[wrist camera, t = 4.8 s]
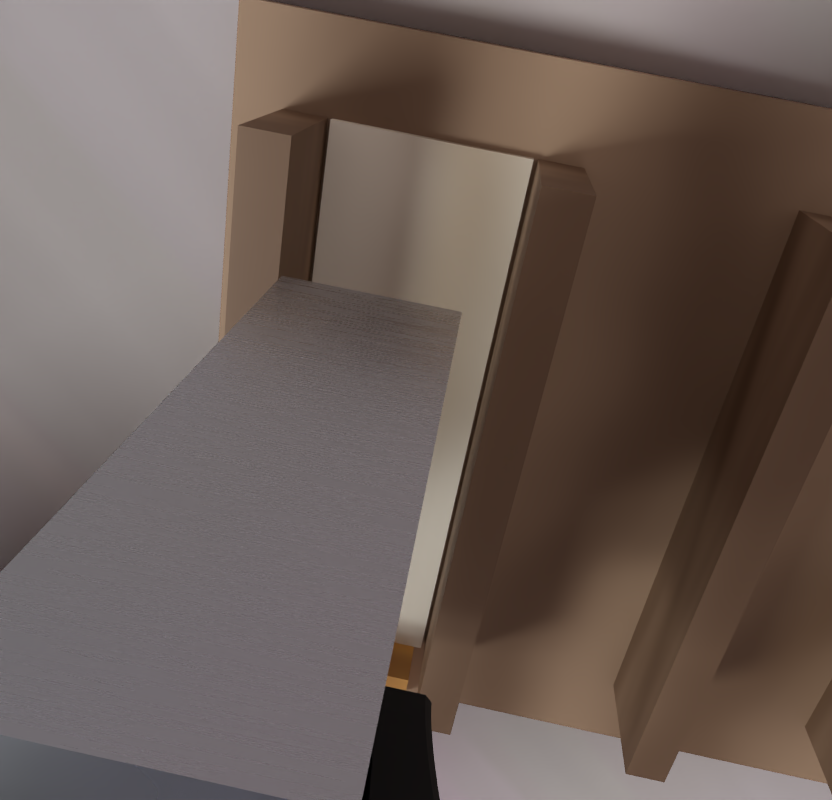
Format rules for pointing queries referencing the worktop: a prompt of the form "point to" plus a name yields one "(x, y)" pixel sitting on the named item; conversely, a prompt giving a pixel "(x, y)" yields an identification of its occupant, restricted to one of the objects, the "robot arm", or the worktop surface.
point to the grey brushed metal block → (233, 568)
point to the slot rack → (577, 369)
